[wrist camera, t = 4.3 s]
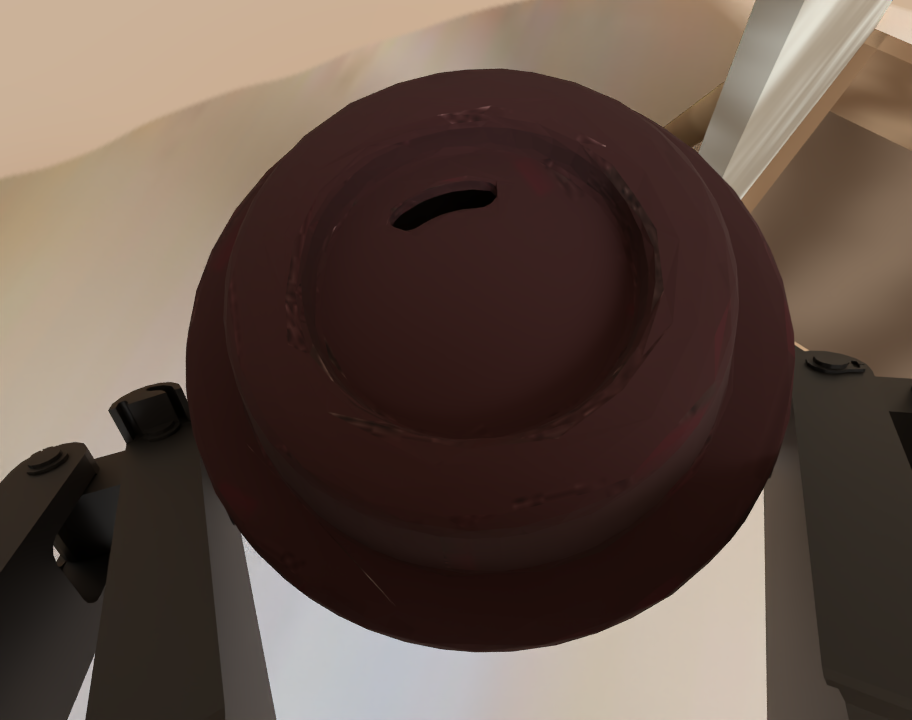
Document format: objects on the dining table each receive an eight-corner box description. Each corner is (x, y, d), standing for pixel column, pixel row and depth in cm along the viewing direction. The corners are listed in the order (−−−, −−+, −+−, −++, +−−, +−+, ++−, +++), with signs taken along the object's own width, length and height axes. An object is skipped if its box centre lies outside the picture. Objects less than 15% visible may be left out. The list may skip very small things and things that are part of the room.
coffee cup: (575, 585, 18) (874, 885, 4) (344, 511, 20) (-49, 534, 5) (620, 354, 21) (898, 29, 7) (414, 305, 22) (273, -46, 8)
